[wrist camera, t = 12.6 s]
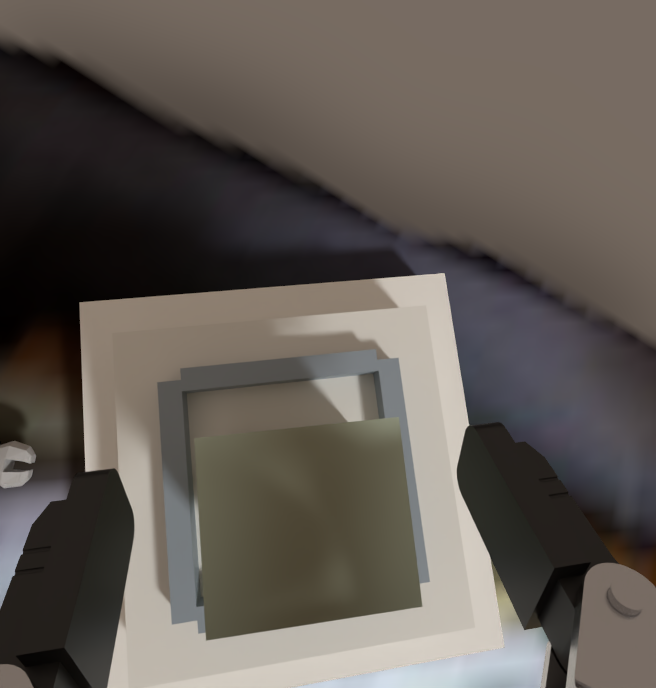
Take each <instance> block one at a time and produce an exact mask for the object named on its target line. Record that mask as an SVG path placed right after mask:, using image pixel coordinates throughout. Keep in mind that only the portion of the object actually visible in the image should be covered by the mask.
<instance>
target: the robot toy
mask: <svg viewBox="0 0 656 688" xmlns="http://www.w3.org/2000/svg"><path fill="white" fill-rule="evenodd" d="M35 459H36V455H35V453H34V451H33V449H32V448H31V446H29V445H26V444H23V443H20V442H17V441H12V442H9V443H6V444H2V445H1V441H0V486H1V487H3V488H9V487H17V486H22V485H23V484H24V483H26V482H27V481H28V480H29V479H30V478H31V476H32V473H33V469H32V470H17V469H13V467H14V463H15V460H17V461H24V462H27V463H30V464H31V463H32V462H34V463H35Z"/></svg>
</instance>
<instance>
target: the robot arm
mask: <svg viewBox="0 0 656 688" xmlns="http://www.w3.org/2000/svg"><path fill="white" fill-rule="evenodd" d="M457 481H458V486H459V490H460V492H461V495H462V497H463V499H464V501H465V503H466V506H467V508H468V510H469V512H470V514H471V516H472V518H473V521H474V523H475V525H476V527H477V529H478V531H479V533H480V536H481V538H482V540H483V542H484V544H485V546H486V549H487V551H488V553H489V555H490V557H491V559H492V561H493V564H494V566H495V568H496V570H497V572H498V574H499V576H500V579H501V581H502V583H503V585H504V587H505V589H506V592H507V594H508V596H509V598H510V600H511V602H512V604H513V607H514V609H515V611H516V613H517V615H518V617H519V619H520V622H521V624H522V626H523V628H524V630H527V629H532V628H538V627H543V629H544V631H545V633H546V635H547V637H548V639H549V642H548V644H547V648H546V654H545V661H544V668H543V674H542V681H541V687H540V688H656V587H655V586H654V585H653V584H652V583H651V582H650V581H649V580H647V579H646V578H645V577H644V576H642V575H641V574H639V573H638V572H636V571H635V570H633V569H630V568H628V567H626V566H623V565H620V564H619V563H618V562H617V561H616V560H615V559H614V558H613V556H612V555H611V554H610V552H609V551H608V549H607V548H606V546H605V545H604V543H603V542H602V541H601V539H600V538H599V536H598V535H597V533H596V532H595V530H594V529H593V527H592V526H591V524H590V523H589V522H588V520H587V519H586V517H585V516H584V514H583V513H582V511H581V510H580V508H579V507H578V505H577V504H576V503H575V501H574V500H573V498H572V497H571V496H569V495H568V491H567V489H566V488H565V486H564V485H563V484H562V482H561V481H560V480H558V478H557V475H556V473H555V472H554V470H553V469H552V467H551V466H550V465H549V463H548V462H547V460H546V459H545V457H544V456H542V455H541V454H540V453H539V452H537V451H536V450H535V449H534V448H532V447H531V446H530V445H529V444H527V443H526V442H518V443H515V442H514V440H513V439H512V437H511V436H510V434H509V432H508V431H507V429H506V428H505V426H504V425H503V424H501V423H499V422H496V423H488V424H480V425H471V426H468V427H467V428H466V430H465V434H464V438H463V443H462V447H461V451H460V456H459V460H458V465H457ZM134 530H135V525H134V515H133V510H132V508H131V505H130V502H129V500H128V497H127V494H126V492H125V489H124V486H123V484H122V481H121V479H120V476H119V473H118V471H117V470H116V469H115V468H112V469H104V470H96V471H88V472H80V473H77V474H76V475H75V477H74V479H73V481H72V484H71V487H70V490H69V493H68V496H67V499H66V500H61V501H53V502H50V504H49V505H48V506H47V507H46V508H45V510H44V511H43V512H42V513H41V515H40V516H39V517H38V518H37V520H36V521H35V522H34V523H33V524H32V527H31V529H30V532H29V535H28V537H27V540H26V543H25V545H24V548H23V555H21V556H20V559H19V561H18V564H17V567H16V569H15V576H13V577H12V580H11V582H10V585H9V588H8V590H7V593H6V596H5V598H4V601H3V604H2V606H1V609H0V688H107V686H108V680H109V675H110V669H111V663H112V658H113V652H114V647H115V641H116V635H117V630H118V624H119V619H120V613H121V608H122V602H123V596H124V591H125V585H126V580H127V574H128V568H129V563H130V557H131V552H132V546H133V540H134Z"/></svg>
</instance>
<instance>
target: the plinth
mask: <svg viewBox="0 0 656 688" xmlns="http://www.w3.org/2000/svg"><path fill="white" fill-rule="evenodd" d="M79 304H80V332H81V361H82V389H83V417H84V445H85V472H88V471H96V470H104V469H112V468H115V469H116V470H117V471H118V473H119V476H120V479H121V481H122V484H123V486H124V489H125V492H126V494H127V497H128V500H129V502H130V505H131V508H132V510H133V515H134V525H135V530H134V540H133V546H132V552H131V557H130V563H129V568H128V574H127V580H126V585H125V591H124V596H123V602H122V608H121V613H120V619H119V624H118V630H117V635H116V641H115V647H114V652H113V658H112V663H111V669H110V675H109V680H108V686H107V688H291V687H297V686H302V685H307V684H313V683H318V682H323V681H329V680H334V679H339V678H345V677H350V676H355V675H361V674H366V673H371V672H377V671H382V670H387V669H393V668H398V667H403V666H409V665H414V664H419V663H425V662H430V661H435V660H441V659H446V658H451V657H457V656H462V655H467V654H473V653H478V652H483V651H489V650H494V649H499V648H505V647H504V641H503V634H502V628H501V622H500V616H499V609H498V603H497V597H496V591H495V585H494V578H493V572H492V566H491V560H490V555H489V553H488V551H487V549H486V546H485V544H484V542H483V540H482V538H481V536H480V533H479V531H478V529H477V527H476V525H475V523H474V521H473V518H472V516H471V514H470V512H469V510H468V508H467V506H466V503H465V501H464V499H463V497H462V495H461V492H460V490H459V486H458V481H457V465H458V460H459V456H460V451H461V447H462V443H463V438H464V434H465V430H466V428H467V427H468V426H469V423H468V416H467V410H466V404H465V398H464V392H463V385H462V379H461V373H460V367H459V360H458V354H457V348H456V342H455V336H454V329H453V323H452V317H451V311H450V304H449V298H448V292H447V286H446V279H445V273H441V274H429V275H416V276H404V277H391V278H379V279H366V280H354V281H341V282H329V283H316V284H304V285H291V286H279V287H266V288H254V289H241V290H229V291H216V292H204V293H191V294H179V295H166V296H154V297H141V298H129V299H116V300H103V301H91V302H79ZM393 417H399V422H400V430H401V438H402V446H403V454H404V462H405V470H406V478H407V486H408V494H409V502H410V510H411V518H412V526H413V534H414V542H415V550H416V558H417V566H418V574H419V582H420V590H421V598H422V606H423V607H418V608H411V609H405V610H399V611H392V612H386V613H380V614H373V615H367V616H360V617H354V618H348V619H341V620H335V621H329V622H322V623H316V624H309V625H303V626H297V627H290V628H284V629H278V630H271V631H265V632H258V633H252V634H246V635H239V636H233V637H227V638H220V639H214V640H207V641H206V633H205V616H204V598H203V581H202V563H201V546H200V529H199V511H198V494H197V476H196V459H195V442H194V438H202V437H211V436H220V435H229V434H239V433H249V432H258V431H268V430H277V429H287V428H296V427H306V426H316V425H325V424H335V423H344V422H354V421H364V420H374V419H383V418H393Z"/></svg>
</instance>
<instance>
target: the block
mask: <svg viewBox="0 0 656 688" xmlns="http://www.w3.org/2000/svg"><path fill="white" fill-rule="evenodd" d="M194 442H195V459H196V476H197V494H198V511H199V529H200V546H201V563H202V581H203V598H204V616H205V633H206V641H207V640H214V639H220V638H227V637H233V636H239V635H246V634H252V633H258V632H265V631H271V630H278V629H284V628H290V627H297V626H303V625H309V624H316V623H322V622H329V621H335V620H341V619H348V618H354V617H360V616H367V615H373V614H380V613H386V612H392V611H399V610H405V609H411V608H418V607H423V606H422V598H421V590H420V582H419V574H418V566H417V558H416V550H415V542H414V534H413V526H412V518H411V510H410V502H409V494H408V486H407V478H406V470H405V462H404V454H403V446H402V438H401V430H400V422H399V417H393V418H383V419H374V420H364V421H354V422H344V423H335V424H325V425H316V426H306V427H296V428H287V429H277V430H268V431H258V432H249V433H239V434H229V435H220V436H211V437H202V438H194Z"/></svg>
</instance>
